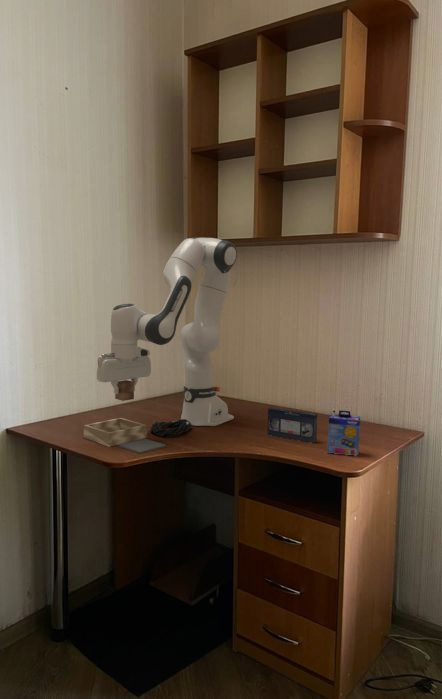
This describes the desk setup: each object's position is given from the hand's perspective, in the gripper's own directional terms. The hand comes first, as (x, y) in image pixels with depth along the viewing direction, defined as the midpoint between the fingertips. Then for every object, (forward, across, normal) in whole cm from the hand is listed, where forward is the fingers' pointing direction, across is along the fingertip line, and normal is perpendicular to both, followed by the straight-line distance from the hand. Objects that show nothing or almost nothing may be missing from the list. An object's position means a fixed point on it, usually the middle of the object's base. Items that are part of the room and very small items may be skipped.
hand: (124, 392), depth 186 cm
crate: (+17, 0, +6) cm, 18 cm away
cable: (+18, +19, -1) cm, 26 cm away
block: (+2, 0, 0) cm, 2 cm away
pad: (+17, 0, -9) cm, 19 cm away
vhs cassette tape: (+18, +45, -37) cm, 61 cm away
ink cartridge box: (+18, +43, -60) cm, 76 cm away
